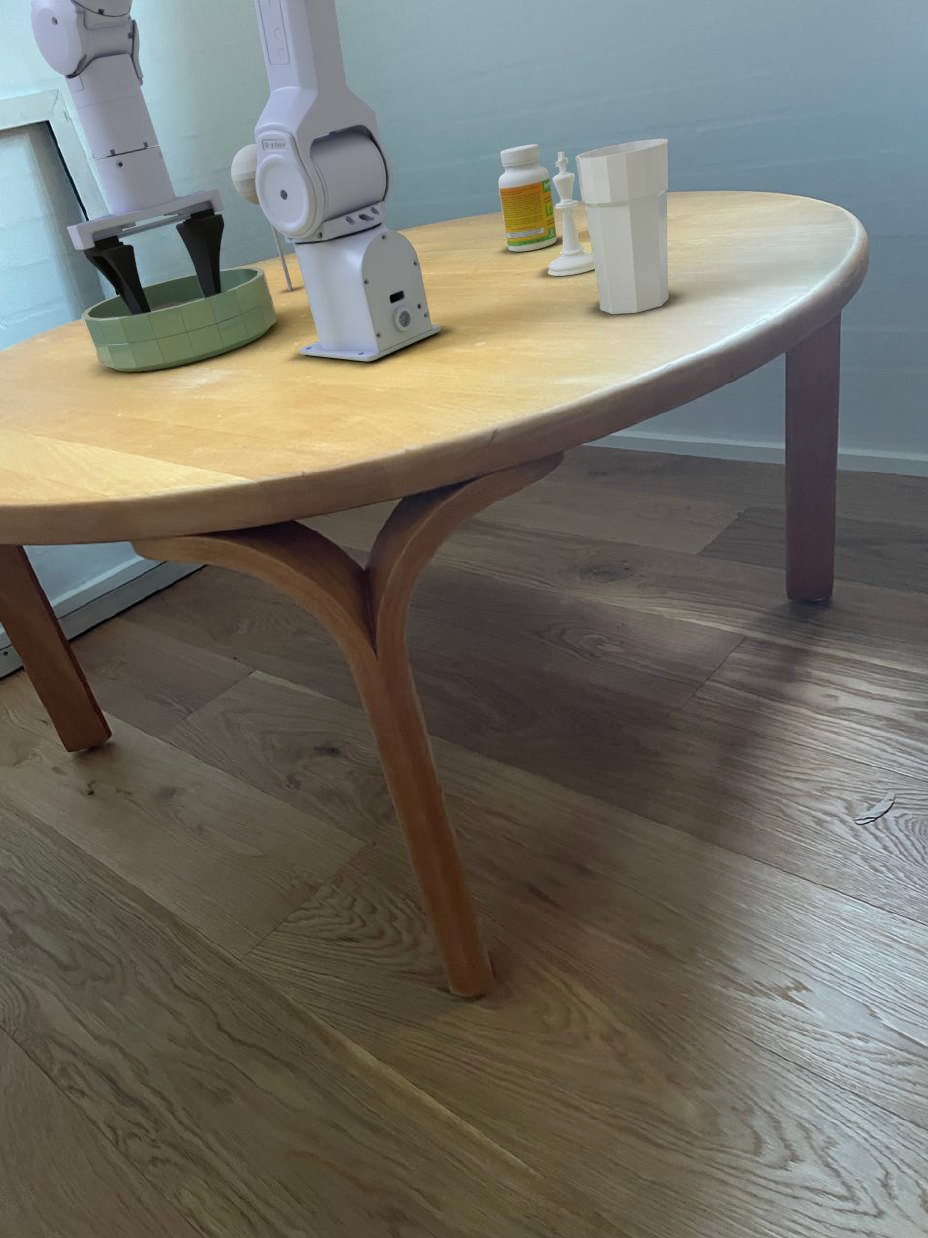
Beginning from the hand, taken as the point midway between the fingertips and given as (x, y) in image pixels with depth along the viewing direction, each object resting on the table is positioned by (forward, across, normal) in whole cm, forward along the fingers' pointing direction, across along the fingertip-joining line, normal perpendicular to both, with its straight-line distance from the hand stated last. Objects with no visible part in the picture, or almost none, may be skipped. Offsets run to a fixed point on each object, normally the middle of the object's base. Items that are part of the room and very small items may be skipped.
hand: (180, 309), depth 87 cm
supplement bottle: (+4, -36, +13) cm, 38 cm away
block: (+3, 0, 0) cm, 3 cm away
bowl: (+3, 0, 0) cm, 3 cm away
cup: (+4, -17, +40) cm, 44 cm away
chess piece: (+4, -27, +26) cm, 38 cm away
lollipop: (+3, -18, -8) cm, 20 cm away
